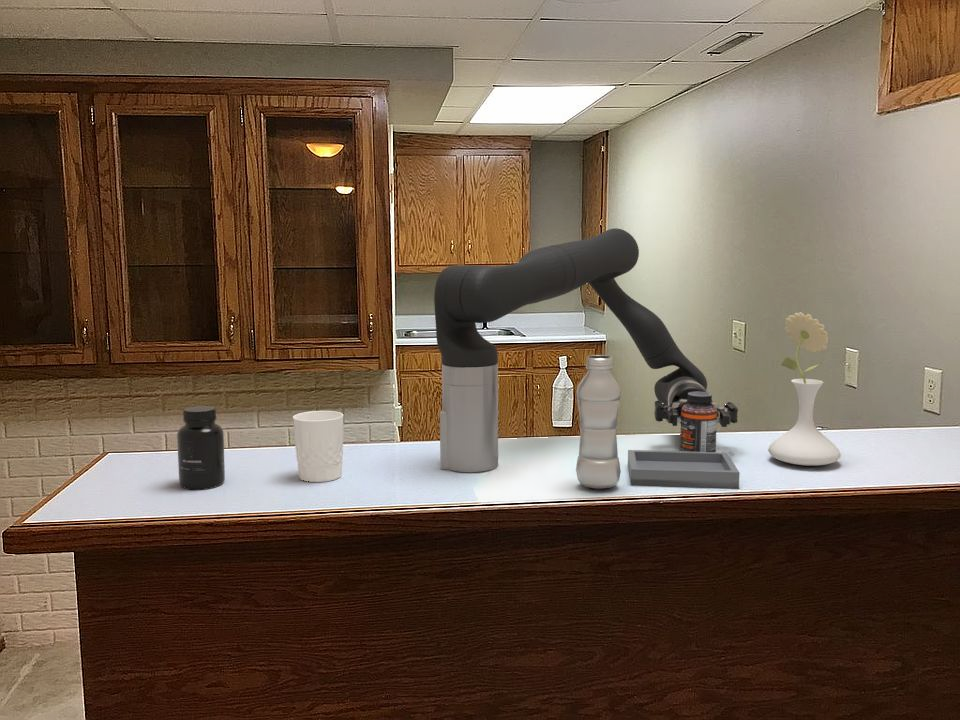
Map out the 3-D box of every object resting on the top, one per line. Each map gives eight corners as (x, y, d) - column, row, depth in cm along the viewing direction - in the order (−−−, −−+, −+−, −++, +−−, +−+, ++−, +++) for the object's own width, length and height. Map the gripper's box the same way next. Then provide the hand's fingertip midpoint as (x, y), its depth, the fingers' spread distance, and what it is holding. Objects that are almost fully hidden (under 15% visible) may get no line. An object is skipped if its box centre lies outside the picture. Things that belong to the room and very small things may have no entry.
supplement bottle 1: (183, 493, 125) (178, 414, 124) (176, 481, 131) (172, 406, 130) (229, 486, 129) (225, 410, 127) (221, 475, 135) (217, 402, 133)
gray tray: (630, 485, 127) (631, 469, 127) (627, 464, 139) (628, 449, 139) (738, 488, 125) (739, 472, 125) (726, 467, 137) (727, 452, 137)
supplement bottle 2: (672, 456, 144) (673, 392, 143) (697, 452, 147) (699, 388, 145) (697, 464, 139) (699, 397, 137) (723, 459, 142) (725, 394, 140)
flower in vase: (854, 469, 135) (863, 315, 132) (789, 473, 133) (796, 317, 130) (811, 449, 148) (818, 309, 144) (750, 452, 146) (756, 310, 143)
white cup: (315, 467, 139) (313, 409, 137) (355, 473, 135) (353, 412, 134) (285, 480, 132) (282, 418, 130) (325, 486, 128) (323, 422, 127)
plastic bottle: (619, 494, 123) (621, 360, 120) (573, 492, 124) (574, 359, 121) (621, 482, 129) (623, 354, 126) (577, 480, 130) (578, 353, 128)
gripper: (650, 381, 156) (657, 397, 140) (729, 382, 155) (744, 399, 139) (650, 420, 158) (656, 441, 141) (727, 422, 156) (743, 443, 140)
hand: (700, 420), depth 140 cm, fingers open, 7 cm apart
